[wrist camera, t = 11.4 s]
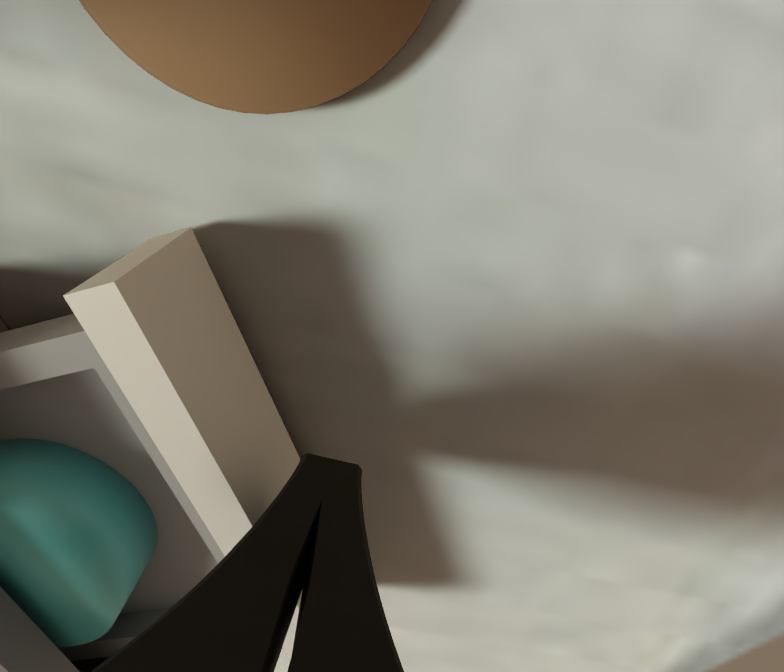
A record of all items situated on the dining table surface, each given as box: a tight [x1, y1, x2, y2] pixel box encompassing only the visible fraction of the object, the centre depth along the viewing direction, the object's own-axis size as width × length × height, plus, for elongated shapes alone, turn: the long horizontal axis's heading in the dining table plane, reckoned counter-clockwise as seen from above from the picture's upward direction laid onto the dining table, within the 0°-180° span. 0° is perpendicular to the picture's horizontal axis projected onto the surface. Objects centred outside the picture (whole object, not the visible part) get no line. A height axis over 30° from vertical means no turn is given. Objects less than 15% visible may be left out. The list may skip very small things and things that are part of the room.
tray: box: [0, 228, 302, 661], centre depth 14 cm, size 12×12×3 cm
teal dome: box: [0, 438, 158, 647], centre depth 13 cm, size 5×5×2 cm
